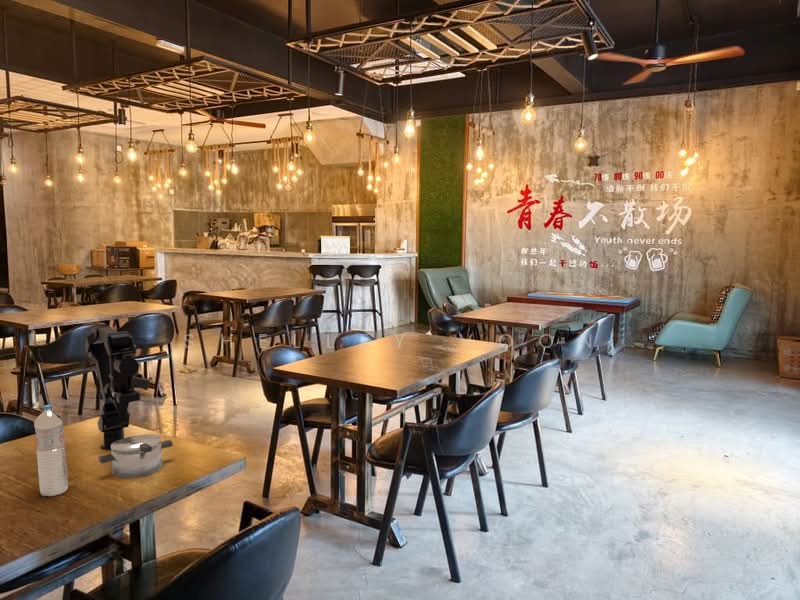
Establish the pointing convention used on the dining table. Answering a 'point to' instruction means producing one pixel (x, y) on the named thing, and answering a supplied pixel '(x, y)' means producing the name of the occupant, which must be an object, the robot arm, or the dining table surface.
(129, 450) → the cooker lid
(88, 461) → the dining table surface
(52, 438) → the water bottle
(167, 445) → the cooker pot
